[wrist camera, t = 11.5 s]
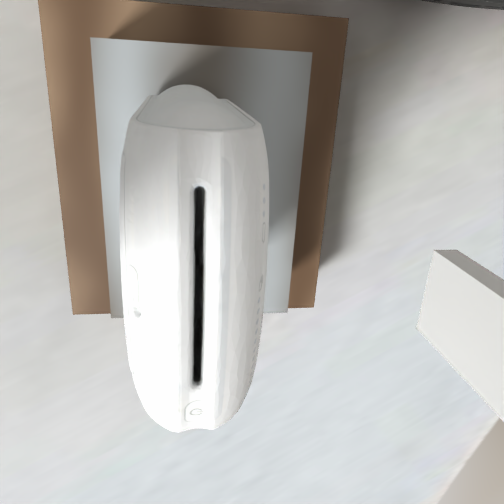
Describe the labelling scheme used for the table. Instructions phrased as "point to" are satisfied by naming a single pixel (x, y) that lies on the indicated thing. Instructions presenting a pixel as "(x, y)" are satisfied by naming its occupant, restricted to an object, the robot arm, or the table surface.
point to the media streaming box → (473, 3)
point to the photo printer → (193, 254)
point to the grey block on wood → (216, 82)
